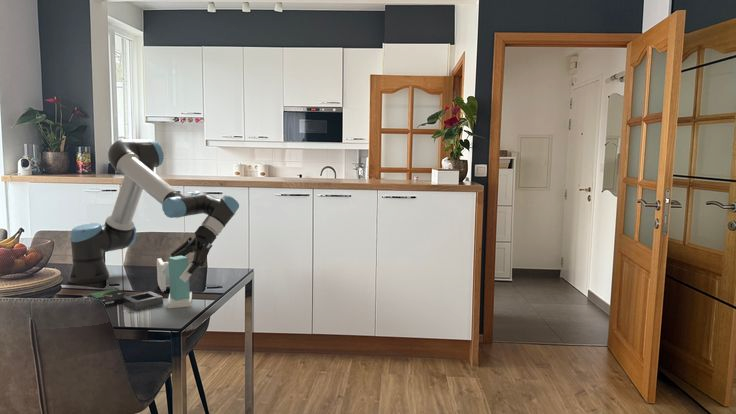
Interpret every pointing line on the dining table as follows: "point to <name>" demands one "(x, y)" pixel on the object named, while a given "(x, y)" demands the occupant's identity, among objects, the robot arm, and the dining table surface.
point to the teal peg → (177, 286)
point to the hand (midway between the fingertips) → (172, 277)
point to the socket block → (142, 300)
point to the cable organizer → (162, 275)
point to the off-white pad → (179, 302)
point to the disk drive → (110, 296)
